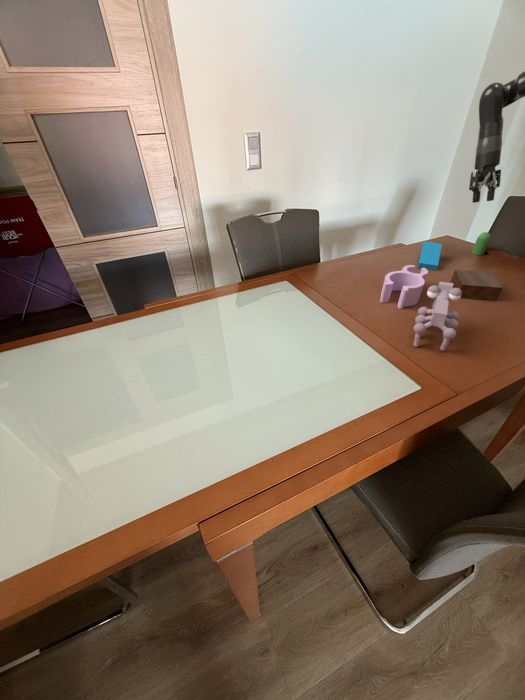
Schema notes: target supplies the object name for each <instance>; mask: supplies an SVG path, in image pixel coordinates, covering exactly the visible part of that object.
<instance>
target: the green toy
mask: <svg viewBox="0 0 525 700" xmlns="http://www.w3.org/2000/svg"><path fill="white" fill-rule="evenodd" d="M490 240H491V234H490V232H487V231H485V232H482V233H480V234H479V236H477V238H476V241H475V243H474V245H473V247H472V250H471V254H473V255H475V256H483V255H484V254H485V251H486V250H487V247H488V246H489V243H490V242H491V241H490Z"/></svg>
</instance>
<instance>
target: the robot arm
mask: <svg viewBox="0 0 525 700" xmlns="http://www.w3.org/2000/svg"><path fill="white" fill-rule="evenodd" d="M524 97H525V70H524V71H523V72H521V73H519V74H518V75H517V76H516V78H515V79H512V80H511V81H508V82H507V83H504V84H503V83H502V82H493V83H490V84H489V85H488V86H486V88H484V90H483V91H482V92H481V94H480V97H479V101H478V120H479V122H478V123H479V128H478V133H477V134H478V135H477V144H476V148H475V158H474V159H475V160H474V170H475V171H472V172H471V173H470V177H469V178H470V179H469V187H468V190H469V191H471V192H472V203H473V204H474V203H479V202H480V201H481V194H482V193H481V192H482V191H481V190H482V188H483V186H485V187H486V188H487V193H486V202H493V201H494V200H495V193H496V189H497V188H500V187H501V174H502V169H496V167H497V166H499V165H500V163H501V155H502V147H503V131H504V117H503V109H504V108H506V107H508V106H510V105H511V104H513V103H515V102H517V101H519V100H520V99H522V98H524Z"/></svg>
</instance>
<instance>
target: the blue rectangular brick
mask: <svg viewBox="0 0 525 700" xmlns="http://www.w3.org/2000/svg"><path fill="white" fill-rule="evenodd" d="M442 245H443V244H442V243H439V242H429V241H423V244H422V246H421V247H422V248H421V252H420V256H419V261H418V264H417V268H418V269H422V268H426V269H427V270H431V271H437V269H438V267H439V262H440V257H441V250H442Z"/></svg>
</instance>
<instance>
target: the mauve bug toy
mask: <svg viewBox="0 0 525 700" xmlns="http://www.w3.org/2000/svg"><path fill="white" fill-rule="evenodd" d="M461 294H462V291H461V290H460V289H459V288H453V283H450V282H446V281H439V282H438V285H435V284H433V285H431V286H429V287H428V288H427V292H426V296H427V297H428V298H430V299H433V303H432V307H431V308H432V309H429V308H428V307H427V306H421V307H420V308H419V309H418V310H417V316H416V317H415V319H414V322H415V324H414V326H413V332H414V333H415V334H414V340H413V347H416V348H418V347H419V346H420V342H421V337H422V334H424V333H425V332H426V330H427V329H428V328H429V329H430V328H431V327H437V328H438V329H440V330H441V331H442V338H441V339H442V343H441V345H440V347H439V349H440V351H442V352H445V351H446V350H447V348H448V345H449V343H450V342H451V340H452V339H455V337H456V336H457V331H456V329H457V328H458V327H459V322H458V320H459V318H460V314H459V312H457V311H456V310H450V311H448V310H449V303H450V301H451V302H456V301H459V300H460V299H461V298H460V297H461Z"/></svg>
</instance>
